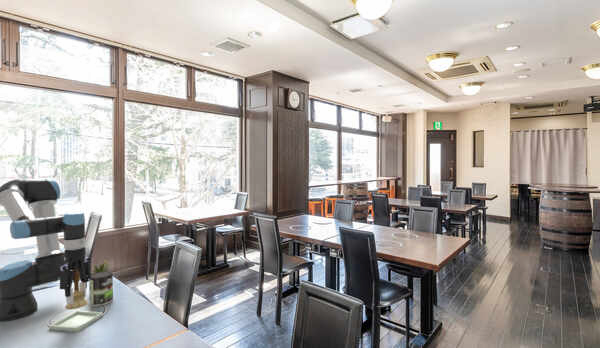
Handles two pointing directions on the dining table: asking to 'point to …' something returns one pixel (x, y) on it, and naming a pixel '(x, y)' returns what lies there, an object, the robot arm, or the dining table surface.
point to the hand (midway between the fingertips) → (76, 299)
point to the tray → (76, 321)
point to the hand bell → (77, 294)
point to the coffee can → (101, 288)
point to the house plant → (100, 268)
